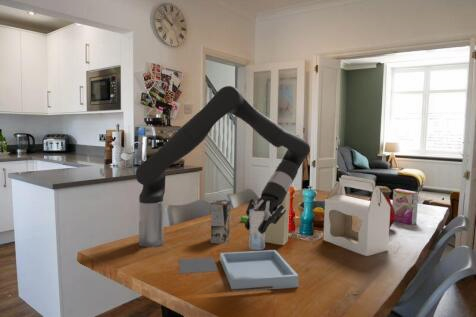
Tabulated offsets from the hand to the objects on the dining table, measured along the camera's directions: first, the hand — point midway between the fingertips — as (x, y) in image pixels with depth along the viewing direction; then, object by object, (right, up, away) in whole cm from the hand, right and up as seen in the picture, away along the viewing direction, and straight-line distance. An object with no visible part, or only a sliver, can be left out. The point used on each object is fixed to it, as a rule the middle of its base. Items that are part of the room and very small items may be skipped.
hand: (253, 230), depth 108 cm
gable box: (+43, -13, +33) cm, 55 cm away
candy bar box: (+81, -11, +70) cm, 107 cm away
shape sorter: (+12, -10, +69) cm, 70 cm away
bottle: (+63, -11, +58) cm, 86 cm away
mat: (-18, -14, +7) cm, 24 cm away
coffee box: (-12, -12, +35) cm, 39 cm away
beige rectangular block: (+11, -12, +35) cm, 39 cm away
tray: (+1, -15, +2) cm, 15 cm away
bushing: (+1, -6, +2) cm, 6 cm away
